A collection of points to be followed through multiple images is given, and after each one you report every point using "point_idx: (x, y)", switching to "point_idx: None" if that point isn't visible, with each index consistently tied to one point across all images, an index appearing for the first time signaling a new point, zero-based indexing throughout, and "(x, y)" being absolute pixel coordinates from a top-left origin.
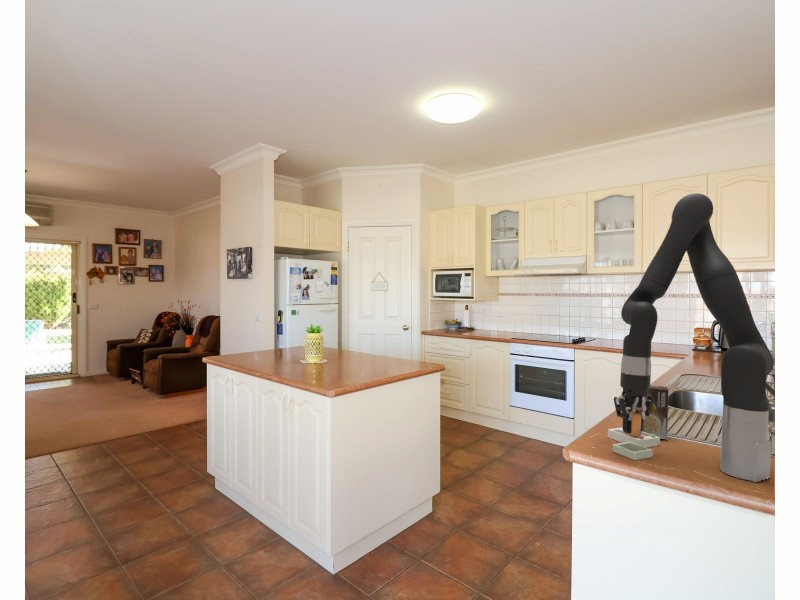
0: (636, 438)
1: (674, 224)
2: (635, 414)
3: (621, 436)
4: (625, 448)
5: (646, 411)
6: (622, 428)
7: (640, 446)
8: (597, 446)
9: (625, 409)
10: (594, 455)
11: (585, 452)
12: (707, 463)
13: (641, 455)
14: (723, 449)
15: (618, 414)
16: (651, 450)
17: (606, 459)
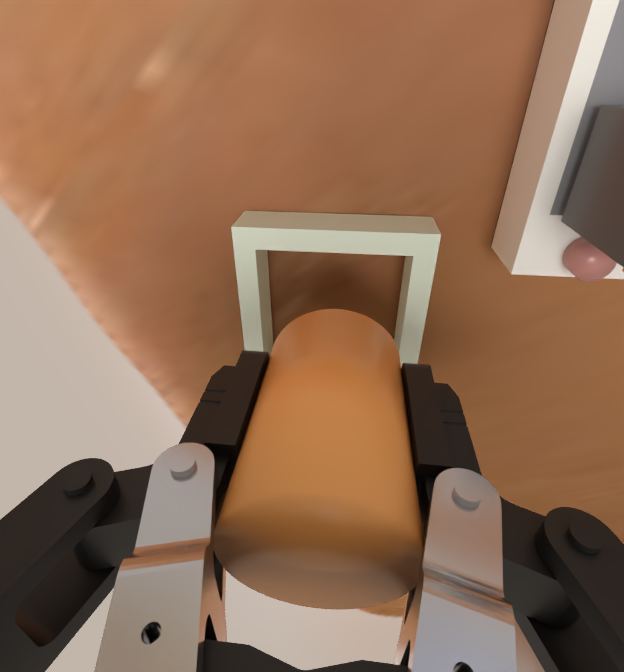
0: (549, 230)
1: None
2: (287, 585)
3: (563, 54)
4: (255, 319)
5: (532, 636)
6: (211, 377)
7: (402, 331)
8: (210, 69)
9: (40, 665)
10: (64, 220)
11: (27, 151)
12: (572, 497)
13: None
14: (529, 655)
15: (55, 503)
16: None
17: (103, 294)
